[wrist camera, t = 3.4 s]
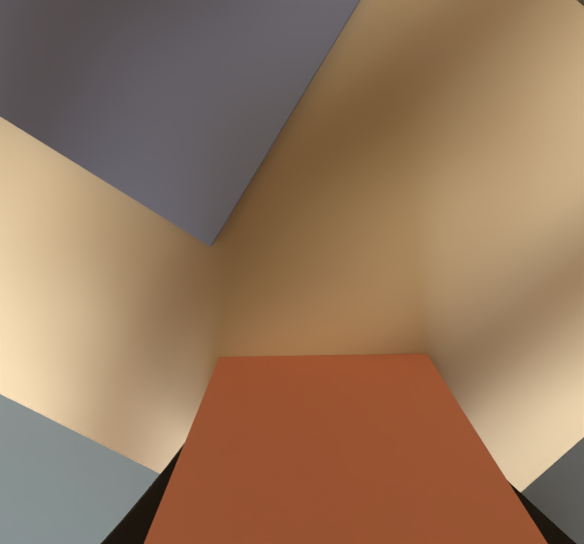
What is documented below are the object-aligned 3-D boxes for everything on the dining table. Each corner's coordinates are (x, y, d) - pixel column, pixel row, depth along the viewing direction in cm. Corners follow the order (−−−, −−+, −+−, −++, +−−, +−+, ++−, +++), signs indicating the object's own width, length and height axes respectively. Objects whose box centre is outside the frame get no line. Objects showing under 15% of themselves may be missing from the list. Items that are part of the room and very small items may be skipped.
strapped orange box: (411, 511, 10) (516, 846, 5) (235, 511, 10) (175, 836, 5) (426, 351, 9) (594, 612, 4) (219, 354, 9) (115, 609, 4)
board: (757, 214, 9) (1081, 255, 5) (394, 555, 12) (432, 718, 9) (1, -436, 6) (-477, -1384, 2) (-177, 259, 10) (-465, 321, 6)
